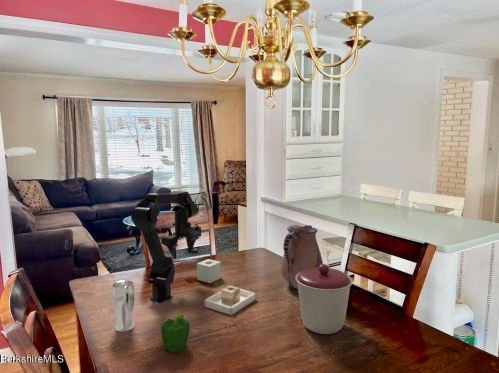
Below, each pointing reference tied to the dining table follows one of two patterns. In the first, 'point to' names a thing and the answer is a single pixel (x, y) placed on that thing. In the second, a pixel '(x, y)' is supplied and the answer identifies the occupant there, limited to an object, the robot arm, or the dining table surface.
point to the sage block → (208, 270)
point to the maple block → (230, 295)
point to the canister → (323, 298)
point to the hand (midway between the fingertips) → (182, 256)
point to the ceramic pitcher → (299, 252)
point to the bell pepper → (175, 333)
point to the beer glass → (123, 304)
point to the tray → (217, 304)
